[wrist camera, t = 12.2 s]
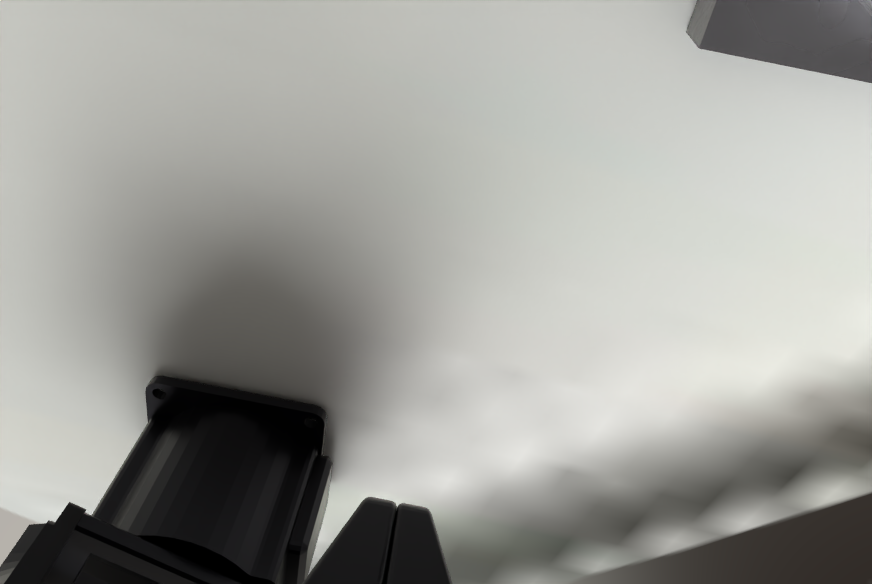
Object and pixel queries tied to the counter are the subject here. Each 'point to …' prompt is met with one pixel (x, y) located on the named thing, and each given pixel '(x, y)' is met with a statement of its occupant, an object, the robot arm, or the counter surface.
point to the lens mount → (790, 33)
